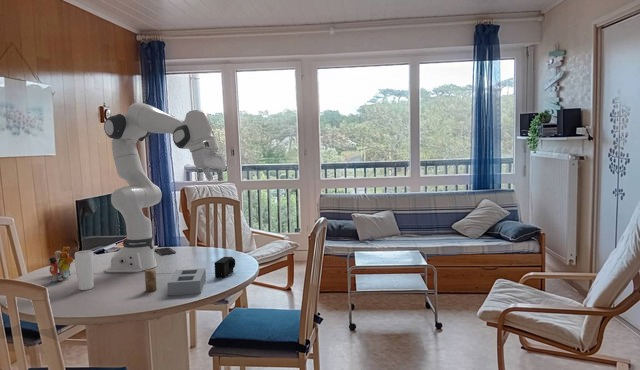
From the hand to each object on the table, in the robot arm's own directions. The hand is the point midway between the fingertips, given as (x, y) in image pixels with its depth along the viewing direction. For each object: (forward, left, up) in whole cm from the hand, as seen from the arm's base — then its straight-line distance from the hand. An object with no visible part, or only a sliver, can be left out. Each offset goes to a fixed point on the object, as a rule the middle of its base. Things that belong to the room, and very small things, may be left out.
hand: (215, 180), depth 178 cm
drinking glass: (-54, +6, -43) cm, 69 cm away
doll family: (-69, +26, -43) cm, 86 cm away
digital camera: (+1, +14, -43) cm, 45 cm away
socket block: (-13, -1, -43) cm, 44 cm away
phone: (-35, +66, -43) cm, 86 cm away
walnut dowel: (-27, -2, -43) cm, 50 cm away
